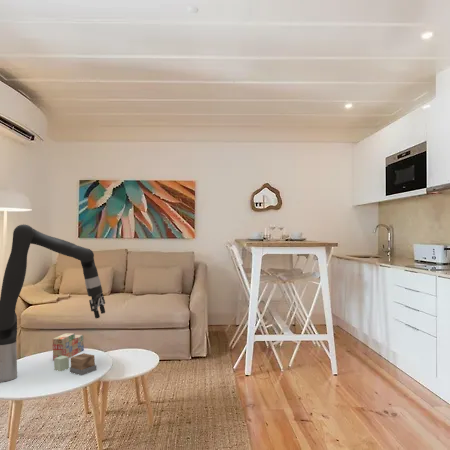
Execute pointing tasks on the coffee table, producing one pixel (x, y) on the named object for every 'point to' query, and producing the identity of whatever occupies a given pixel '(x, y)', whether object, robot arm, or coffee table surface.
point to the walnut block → (82, 361)
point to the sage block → (61, 363)
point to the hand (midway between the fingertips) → (100, 315)
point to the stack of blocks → (67, 345)
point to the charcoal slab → (84, 371)
